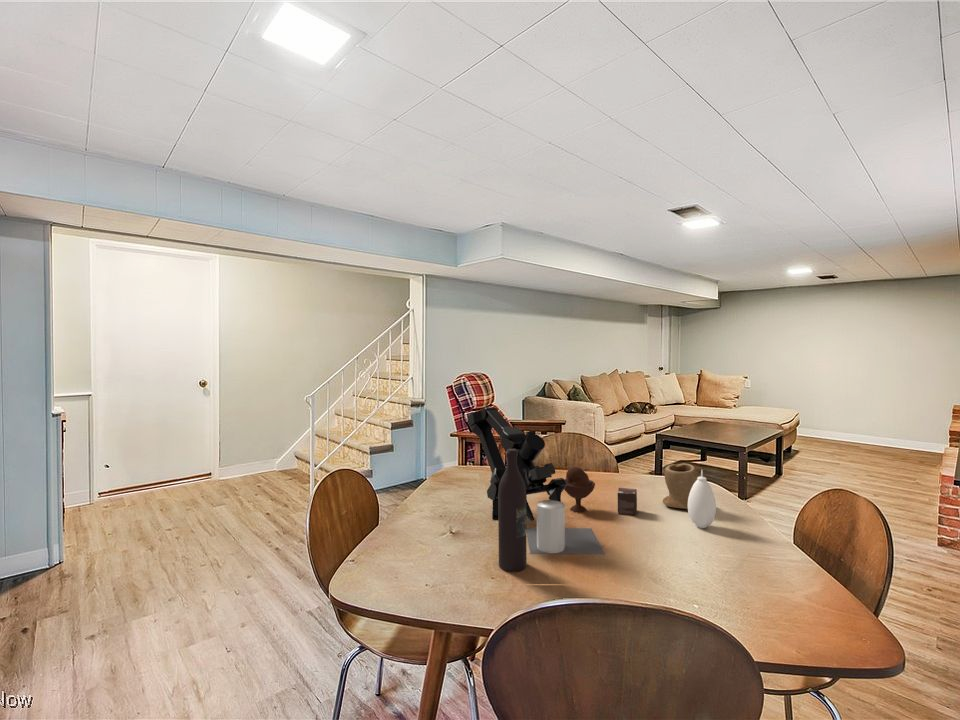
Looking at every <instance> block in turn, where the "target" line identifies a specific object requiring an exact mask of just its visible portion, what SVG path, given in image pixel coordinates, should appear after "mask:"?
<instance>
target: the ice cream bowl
mask: <svg viewBox="0 0 960 720" xmlns="http://www.w3.org/2000/svg"><path fill="white" fill-rule="evenodd" d="M564 480H565V481H566V483H567V486H566V487H565V488H564V490H563V491H564V492H566V494H568V496H570V497H571V498H573V499H574V500H575V504H574V505H572V506H571V507H569V511H571V512H572V511H573V512H572V513H576V512H577V513H578V514H579V513H580V514H582V513H586V512H587V508H586V507H585V506H584V505H582V500H583V499H585V498H587V497H588V496H590V494H591V493H592V492H593V491H594V489H595V486H596V483H595V482H594V481H593V480H591V479H590V477H589V476H588V474H587V472H585V470H584V469H582V468H581V467H579V466H572V467H569V468H568V469H567V470H566V475H565V478H564Z"/></svg>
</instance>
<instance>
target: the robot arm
mask: <svg viewBox="0 0 960 720" xmlns="http://www.w3.org/2000/svg"><path fill="white" fill-rule="evenodd" d="M467 424H468V426H469V428H470V430H471V432H472V433H473V434H475V435H476V436H478V439H479V442H480V443H481V446H482V448H483V451H484V452H483V453H484V455H485V457H486V460H487V463H488V465H489V469H490V471H491V476H490V480H489V483H490V485H489V487H488V488H487V490H486V494H487V498H488V499H490V500H491V501H492V511H491V512H492V513H491V515H492V517H491V518H492V519H493V520H498V490H499V484H500V481H501V478H502V476H503V475H504V473H505V470H506V467H507V465H506V464H505V462H504V459H503V457H502V454H501V452H500V449H499V447H498V444H497V441H496V438H495V436H494V433H493V431H492V430H494V431H495V432H496V434H497V435H498V436H499V437H500V445H501V447H502V448H503V450H504V451H505V452H506V451H507V449H517V451H518V456H517V467H518V470H519V472H520V474H521V476H522V478H523V480H524V483H525V487H526V518H528V519H529V520H530V521H531V522H533V521H534V520H535V517H534V514H533V511H532V510H531V507H530V504H529V502H528V499H527V496H528V495H534V494H539V493H546V494H547V495H549V496H548V500H555V501H559V502H562V498H561V497H562V493H563V492H564V491H565V490H564V488H565V487H566V486H567V483H566V481H565V478H563V477H558V478H552V477H553V475H555V474H556V469H555V466H554V464H553V463H552V462H549V463H546V464H544V466H539V465H536V464H535V462H534V461H535V460H536V459H538V457H539V455H541V452H542V451H543V449H545V446H546V442H545V440H544V439H543V438H542V437H541V436H540V435H538V434H536V433H535V432H534V430H533V431H532V430H531V431H526V433H525V432H524V431H522V430H521V429H520V428H516V427H514V426H512V425H511V424H510V422H508V420H506V418H505V417H503V415H502V414H501V413H500V412H499V409H498V408H497V407H496V406H491V407H490V406H489V407H484V408H481V409H480V410H477V411H472V412H470V413H469V415H468V416H467ZM549 478H552V479H551V480H550V481H549V482H548V483H547V484H545V483H546V482H547V481H548V480H547V479H549Z"/></svg>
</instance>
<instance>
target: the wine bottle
mask: <svg viewBox="0 0 960 720" xmlns="http://www.w3.org/2000/svg"><path fill="white" fill-rule="evenodd" d="M505 455H506V470H505V473H504V475H503V476H502V478H501V481H500V484H499V490H498V519H497V521H498V524H497V525H498V527H497V528H498V567H499V568H500V570H502V571H504V572H507V573H518V572H521V571H525V569H526V568H527V533H526V528H527V516H526V496H527V495H526V487H525V483H524V480H523V478H522V476H521V474H520V472H519V470H518V467H517V456H518V451H517V449H507V451H505Z"/></svg>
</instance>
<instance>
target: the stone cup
mask: <svg viewBox="0 0 960 720" xmlns="http://www.w3.org/2000/svg"><path fill="white" fill-rule="evenodd" d="M698 474H699V473H698V471H697V468H696V467H695V466H694V465H692V464H689V463H686V462H685V463H684V462H683V463H679V464H676V463H671V464H669V465H667V466H666V467H665V468H664V480H665V481H664V482H665V484H666V486H667V489H668V495H667V496H665V497H664V498H663V499H662V504H663V505H664V506H665V507H669V508H676V509H683V510H688V497H689V494H690V491H691V488H692V486H693V484H694V483H695V482H696V481H697V477H699V475H698Z"/></svg>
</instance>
